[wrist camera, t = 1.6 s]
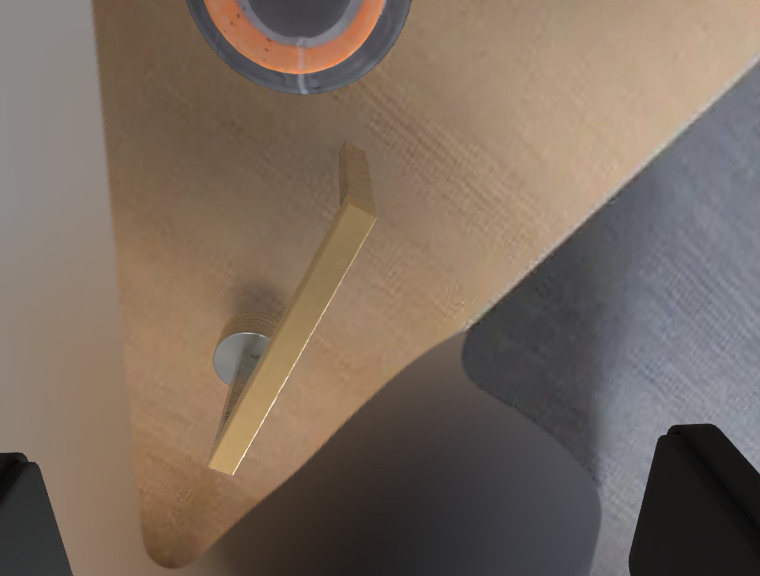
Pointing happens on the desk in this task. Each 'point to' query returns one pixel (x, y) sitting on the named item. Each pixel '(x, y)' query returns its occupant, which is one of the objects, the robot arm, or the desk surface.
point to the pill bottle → (301, 39)
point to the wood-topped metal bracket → (287, 320)
